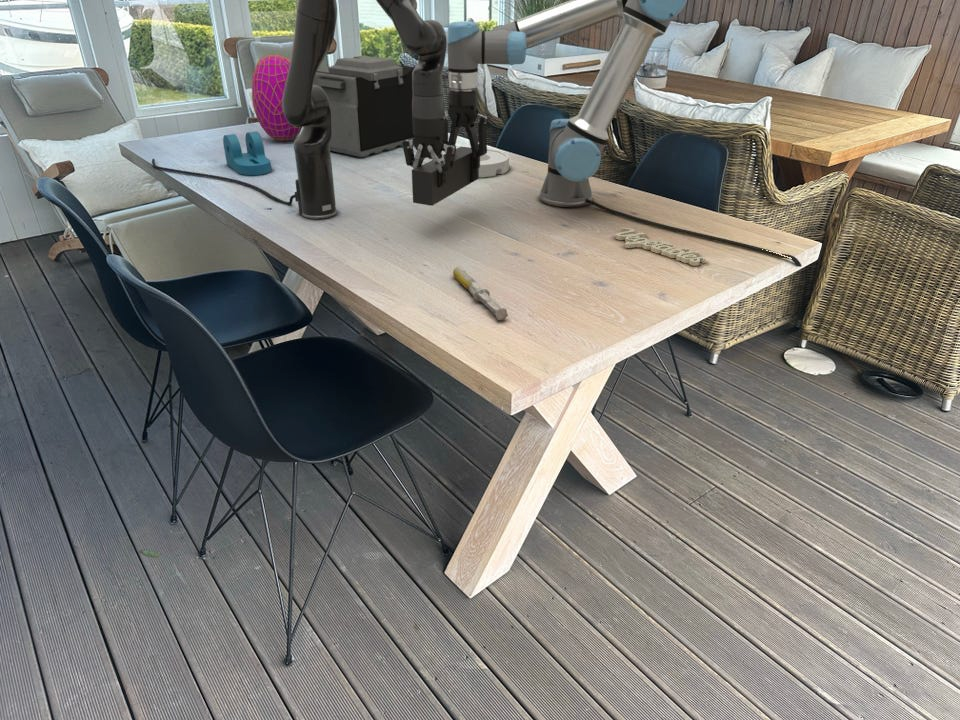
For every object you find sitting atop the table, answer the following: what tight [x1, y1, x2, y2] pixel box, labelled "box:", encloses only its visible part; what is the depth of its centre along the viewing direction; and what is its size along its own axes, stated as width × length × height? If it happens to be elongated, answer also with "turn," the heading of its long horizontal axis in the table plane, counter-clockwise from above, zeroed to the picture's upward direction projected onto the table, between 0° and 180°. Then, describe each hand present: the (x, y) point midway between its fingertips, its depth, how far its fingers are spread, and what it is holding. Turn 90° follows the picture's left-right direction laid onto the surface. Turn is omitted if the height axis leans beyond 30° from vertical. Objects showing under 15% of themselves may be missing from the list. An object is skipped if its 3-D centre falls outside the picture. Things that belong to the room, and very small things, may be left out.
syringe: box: [452, 266, 509, 321], centre depth 145 cm, size 25×4×3 cm, turn 21°
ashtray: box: [442, 148, 510, 178], centre depth 231 cm, size 23×23×4 cm
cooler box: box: [313, 55, 416, 159], centre depth 250 cm, size 37×22×30 cm, turn 144°
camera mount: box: [222, 131, 272, 176], centre depth 226 cm, size 18×10×10 cm, turn 35°
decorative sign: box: [615, 227, 707, 267], centre depth 169 cm, size 26×1×10 cm
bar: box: [411, 146, 480, 207], centre depth 178 cm, size 27×6×8 cm, turn 155°
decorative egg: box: [251, 54, 303, 142], centre depth 257 cm, size 19×19×30 cm
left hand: (430, 184), depth 171 cm, fingers closed on bar, 5 cm apart
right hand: (463, 179), depth 187 cm, fingers closed on bar, 5 cm apart
